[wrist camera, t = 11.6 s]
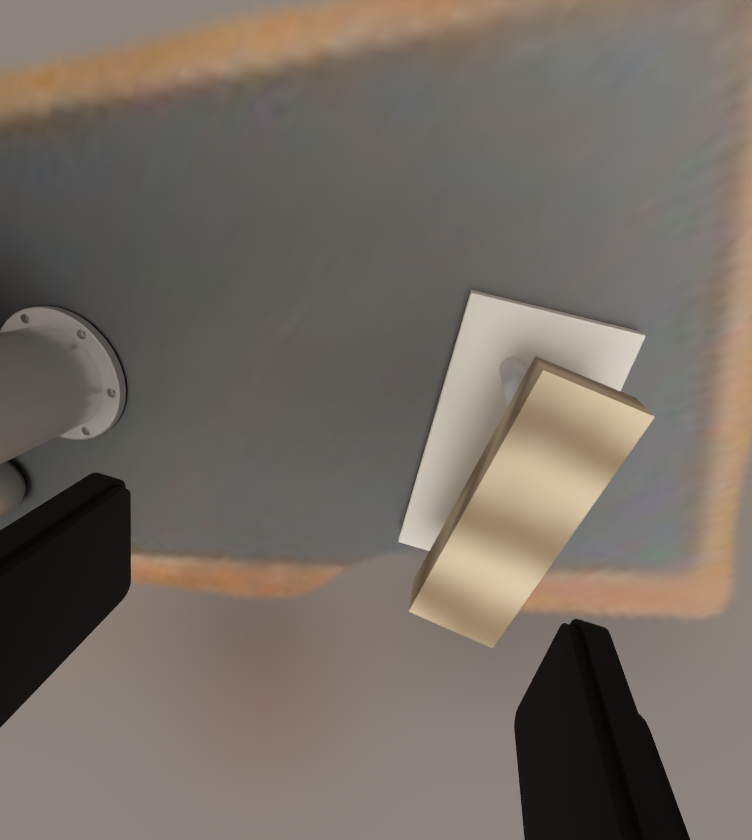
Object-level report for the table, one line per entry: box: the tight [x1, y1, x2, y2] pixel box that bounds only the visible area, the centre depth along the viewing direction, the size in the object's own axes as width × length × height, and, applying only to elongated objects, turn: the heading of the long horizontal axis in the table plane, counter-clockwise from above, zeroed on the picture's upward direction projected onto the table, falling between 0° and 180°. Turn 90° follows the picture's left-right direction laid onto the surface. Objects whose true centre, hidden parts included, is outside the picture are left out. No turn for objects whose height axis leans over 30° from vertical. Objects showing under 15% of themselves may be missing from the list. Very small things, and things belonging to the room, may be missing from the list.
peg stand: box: [398, 290, 646, 551], centre depth 33 cm, size 12×22×9 cm, turn 168°
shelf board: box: [409, 356, 655, 648], centre depth 28 cm, size 18×6×3 cm, turn 159°
